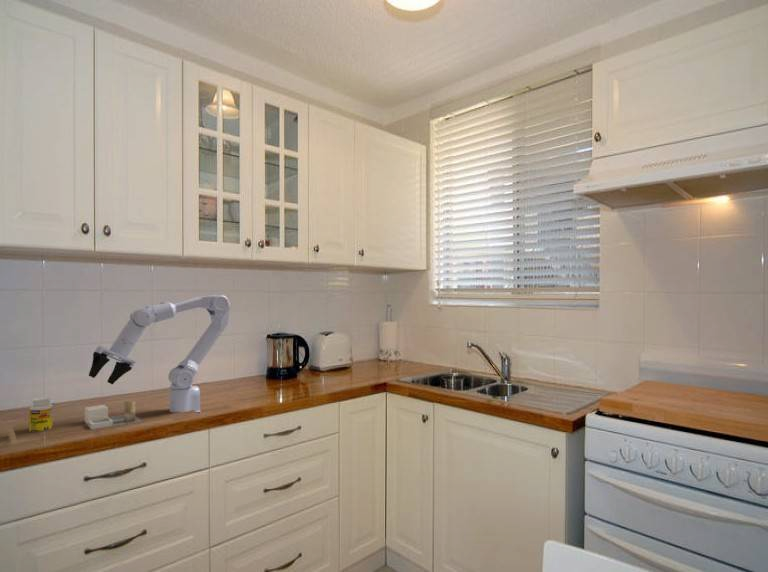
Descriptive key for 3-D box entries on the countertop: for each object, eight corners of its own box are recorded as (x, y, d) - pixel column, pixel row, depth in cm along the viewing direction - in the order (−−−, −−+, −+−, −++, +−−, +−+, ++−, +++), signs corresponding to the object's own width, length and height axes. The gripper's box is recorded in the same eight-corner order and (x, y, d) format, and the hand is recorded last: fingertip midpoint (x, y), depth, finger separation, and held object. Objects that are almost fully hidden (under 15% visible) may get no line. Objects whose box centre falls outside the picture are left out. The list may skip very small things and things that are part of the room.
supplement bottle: (26, 436, 133) (26, 401, 133) (32, 431, 138) (32, 397, 138) (49, 434, 135) (50, 399, 136) (54, 429, 140) (55, 396, 141)
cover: (104, 418, 149) (104, 404, 149) (108, 421, 145) (108, 407, 145) (84, 421, 145) (84, 407, 145) (87, 424, 141) (88, 410, 141)
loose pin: (133, 419, 148) (133, 400, 148) (136, 421, 145) (136, 402, 146) (123, 420, 146) (123, 401, 146) (125, 422, 143) (125, 403, 144)
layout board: (131, 416, 155) (132, 404, 155) (142, 424, 145) (142, 411, 145) (83, 424, 146) (83, 411, 146) (91, 433, 136) (91, 419, 136)
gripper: (133, 345, 158) (109, 381, 153) (100, 330, 145) (74, 369, 141) (147, 351, 155) (123, 389, 150) (115, 336, 142) (88, 376, 138)
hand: (100, 380), depth 145 cm, fingers open, 7 cm apart
